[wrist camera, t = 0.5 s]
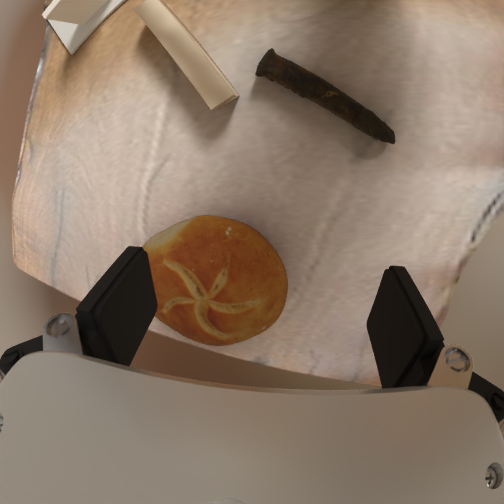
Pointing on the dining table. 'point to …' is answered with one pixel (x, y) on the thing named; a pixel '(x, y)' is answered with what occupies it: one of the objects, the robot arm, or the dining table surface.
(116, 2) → the mat
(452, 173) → the dining table surface
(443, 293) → the dining table surface
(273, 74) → the rusty brown spike
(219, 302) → the bread
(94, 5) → the tile
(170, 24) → the beige long bar
